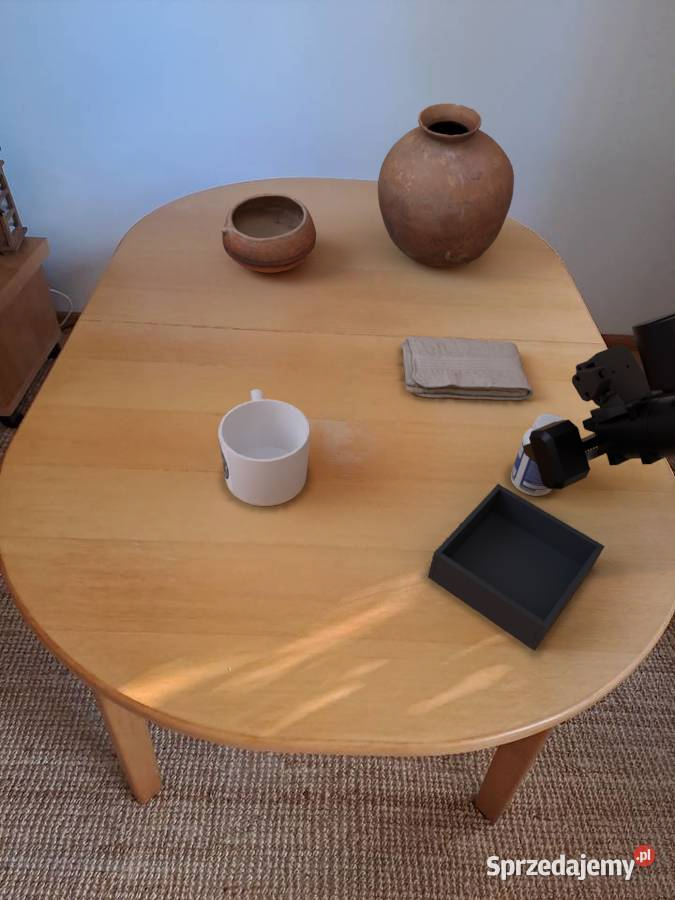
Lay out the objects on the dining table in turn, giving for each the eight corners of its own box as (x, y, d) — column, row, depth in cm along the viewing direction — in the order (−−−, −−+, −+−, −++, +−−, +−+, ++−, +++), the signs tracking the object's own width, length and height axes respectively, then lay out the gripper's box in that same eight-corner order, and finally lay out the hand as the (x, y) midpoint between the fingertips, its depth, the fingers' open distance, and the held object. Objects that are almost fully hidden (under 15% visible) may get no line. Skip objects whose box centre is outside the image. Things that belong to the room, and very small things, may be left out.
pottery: (475, 223, 132) (504, 85, 114) (512, 287, 116) (552, 138, 98) (361, 225, 129) (373, 84, 112) (383, 290, 113) (401, 138, 96)
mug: (316, 503, 80) (318, 455, 74) (227, 515, 78) (222, 467, 72) (297, 426, 89) (297, 379, 83) (217, 435, 87) (211, 387, 81)
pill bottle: (562, 487, 83) (586, 431, 77) (530, 503, 81) (552, 447, 74) (532, 460, 87) (553, 403, 80) (501, 474, 84) (519, 418, 78)
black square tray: (591, 570, 75) (604, 545, 72) (534, 651, 67) (547, 628, 64) (489, 508, 81) (498, 483, 77) (427, 577, 73) (433, 552, 70)
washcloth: (398, 348, 102) (400, 331, 100) (514, 351, 103) (519, 335, 101) (405, 399, 94) (407, 382, 92) (531, 403, 95) (537, 386, 92)
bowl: (208, 272, 115) (203, 216, 108) (251, 233, 125) (249, 180, 118) (291, 295, 111) (291, 239, 104) (328, 253, 121) (331, 199, 114)
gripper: (711, 320, 66) (593, 348, 80) (571, 373, 59) (470, 394, 73) (740, 427, 67) (619, 436, 81) (607, 492, 60) (500, 490, 74)
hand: (555, 437), depth 77 cm, fingers open, 9 cm apart
